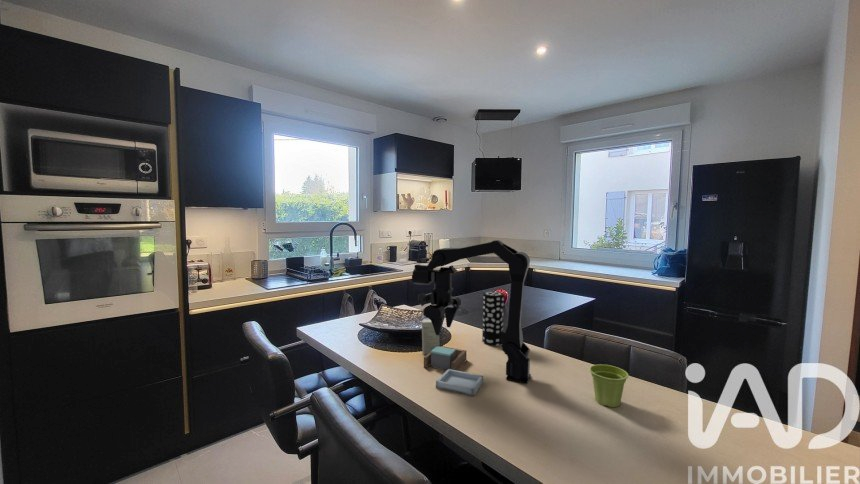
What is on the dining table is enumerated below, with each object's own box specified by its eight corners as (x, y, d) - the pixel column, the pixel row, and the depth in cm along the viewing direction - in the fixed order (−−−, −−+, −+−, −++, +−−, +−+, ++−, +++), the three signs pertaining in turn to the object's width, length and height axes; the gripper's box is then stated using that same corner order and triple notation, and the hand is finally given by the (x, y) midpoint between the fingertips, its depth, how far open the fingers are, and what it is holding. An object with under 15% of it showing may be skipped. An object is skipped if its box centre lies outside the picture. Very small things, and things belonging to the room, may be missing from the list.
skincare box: (439, 350, 133) (439, 319, 133) (438, 355, 129) (438, 322, 128) (422, 349, 134) (422, 318, 133) (421, 354, 130) (421, 321, 129)
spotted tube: (478, 339, 145) (479, 292, 144) (496, 337, 148) (497, 290, 147) (488, 346, 138) (488, 296, 136) (506, 344, 140) (507, 295, 139)
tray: (483, 382, 108) (483, 375, 108) (473, 396, 99) (473, 389, 99) (448, 374, 113) (448, 368, 112) (435, 387, 104) (435, 381, 104)
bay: (466, 360, 124) (466, 350, 124) (453, 373, 114) (454, 363, 113) (438, 354, 129) (438, 345, 129) (423, 367, 118) (423, 357, 118)
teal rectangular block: (455, 365, 120) (455, 349, 120) (450, 371, 116) (450, 354, 115) (436, 361, 123) (437, 346, 123) (430, 367, 119) (430, 350, 118)
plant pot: (606, 413, 91) (607, 381, 90) (581, 395, 100) (582, 366, 99) (635, 408, 93) (636, 376, 92) (608, 391, 102) (609, 362, 102)
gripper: (433, 279, 130) (433, 321, 131) (408, 288, 113) (409, 336, 114) (461, 281, 125) (461, 324, 126) (439, 291, 109) (440, 340, 109)
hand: (443, 331), depth 119 cm, fingers open, 9 cm apart
